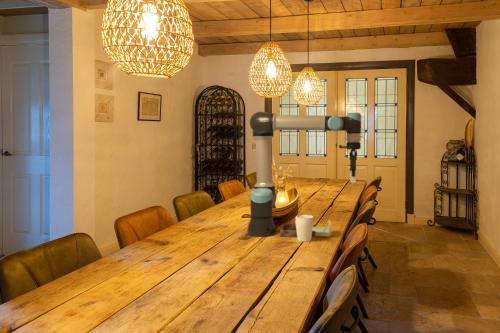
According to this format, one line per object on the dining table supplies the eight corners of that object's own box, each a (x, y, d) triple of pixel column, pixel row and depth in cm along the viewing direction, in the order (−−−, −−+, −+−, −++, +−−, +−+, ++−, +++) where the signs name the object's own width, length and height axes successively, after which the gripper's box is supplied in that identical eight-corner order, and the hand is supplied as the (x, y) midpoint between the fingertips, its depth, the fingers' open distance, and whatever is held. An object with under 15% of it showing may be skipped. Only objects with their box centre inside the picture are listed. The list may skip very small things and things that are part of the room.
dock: (280, 236, 232) (280, 230, 232) (282, 229, 248) (282, 223, 247) (315, 237, 229) (315, 231, 229) (315, 230, 245) (315, 224, 245)
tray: (297, 235, 232) (297, 223, 231) (298, 229, 245) (298, 218, 244) (331, 236, 229) (331, 224, 229) (330, 230, 242) (330, 219, 242)
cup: (312, 242, 219) (313, 218, 218) (294, 241, 221) (294, 217, 220) (313, 238, 228) (314, 215, 227) (296, 237, 230) (296, 214, 229)
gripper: (361, 142, 228) (360, 184, 229) (359, 141, 252) (358, 178, 254) (346, 142, 229) (345, 183, 231) (346, 141, 253) (345, 178, 255)
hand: (352, 181), depth 242 cm, fingers open, 13 cm apart
